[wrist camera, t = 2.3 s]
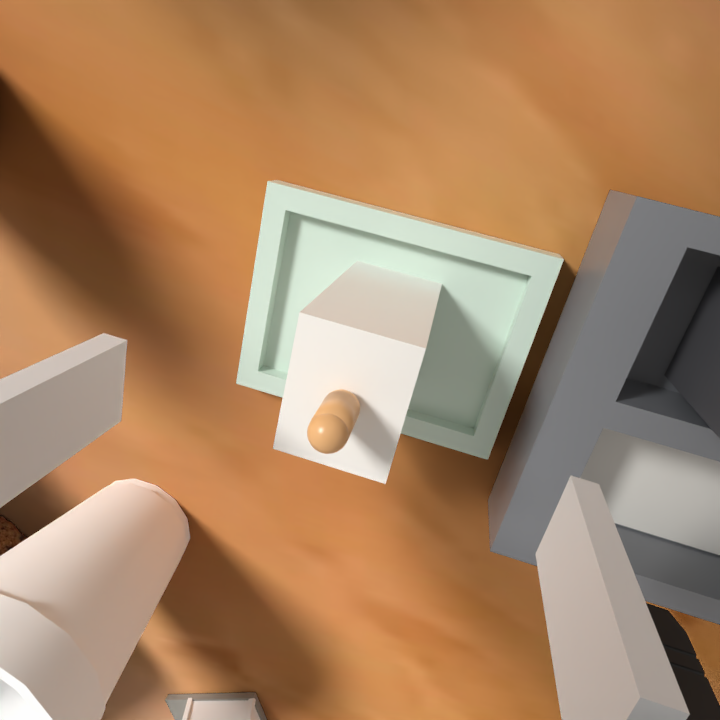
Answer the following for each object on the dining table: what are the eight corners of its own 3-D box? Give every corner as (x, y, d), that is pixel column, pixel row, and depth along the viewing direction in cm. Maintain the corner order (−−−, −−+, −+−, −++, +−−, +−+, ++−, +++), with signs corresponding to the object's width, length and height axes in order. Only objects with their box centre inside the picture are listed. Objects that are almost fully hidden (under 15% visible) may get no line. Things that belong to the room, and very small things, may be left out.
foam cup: (222, 483, 31) (69, 683, 20) (206, 600, 35) (67, 831, 23) (74, 438, 32) (-159, 602, 20) (73, 556, 36) (-127, 755, 24)
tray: (277, 180, 25) (267, 181, 24) (559, 254, 24) (564, 259, 22) (245, 374, 29) (236, 383, 27) (487, 446, 27) (487, 459, 26)
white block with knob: (357, 260, 25) (268, 339, 14) (442, 283, 25) (417, 382, 14) (334, 358, 27) (241, 493, 16) (413, 381, 26) (371, 535, 16)
